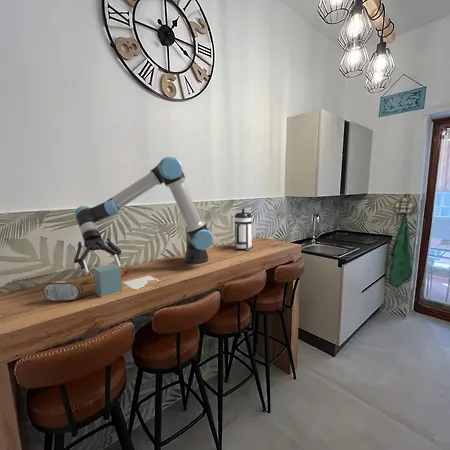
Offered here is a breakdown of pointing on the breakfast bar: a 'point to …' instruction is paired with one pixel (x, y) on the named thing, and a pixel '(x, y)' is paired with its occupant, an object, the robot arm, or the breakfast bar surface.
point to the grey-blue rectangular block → (107, 279)
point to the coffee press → (243, 230)
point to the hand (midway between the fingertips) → (104, 270)
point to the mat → (139, 282)
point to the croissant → (91, 280)
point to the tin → (63, 290)
